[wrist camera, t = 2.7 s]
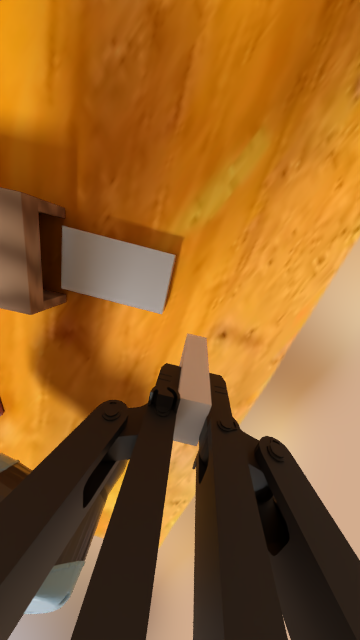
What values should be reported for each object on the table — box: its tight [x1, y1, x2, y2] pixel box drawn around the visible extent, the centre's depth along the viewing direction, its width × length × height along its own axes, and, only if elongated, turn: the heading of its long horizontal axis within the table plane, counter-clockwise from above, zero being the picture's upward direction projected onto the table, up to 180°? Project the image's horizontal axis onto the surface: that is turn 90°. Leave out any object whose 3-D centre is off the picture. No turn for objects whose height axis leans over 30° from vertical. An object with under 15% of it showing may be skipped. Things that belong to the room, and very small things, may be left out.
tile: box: [61, 226, 176, 314], centre depth 31 cm, size 10×18×3 cm, turn 76°
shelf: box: [0, 188, 66, 315], centre depth 28 cm, size 16×12×8 cm
